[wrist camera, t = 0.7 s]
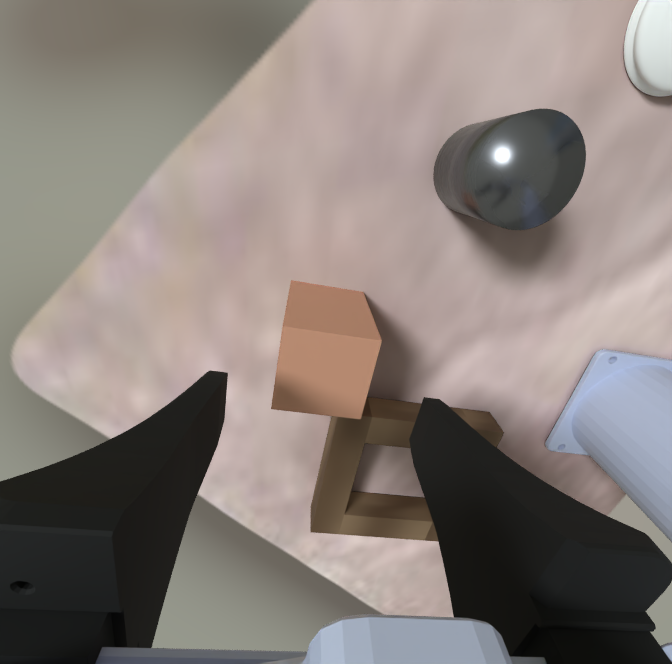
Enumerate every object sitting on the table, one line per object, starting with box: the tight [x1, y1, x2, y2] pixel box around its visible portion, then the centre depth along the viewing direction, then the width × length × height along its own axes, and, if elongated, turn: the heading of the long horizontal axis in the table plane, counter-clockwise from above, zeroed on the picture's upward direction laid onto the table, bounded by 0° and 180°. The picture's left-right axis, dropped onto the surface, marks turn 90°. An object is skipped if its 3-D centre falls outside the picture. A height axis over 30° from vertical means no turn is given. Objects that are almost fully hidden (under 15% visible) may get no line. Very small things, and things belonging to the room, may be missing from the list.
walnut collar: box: [311, 397, 504, 541], centre depth 24 cm, size 10×10×2 cm
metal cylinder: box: [433, 109, 586, 230], centre depth 15 cm, size 4×4×5 cm
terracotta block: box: [271, 280, 382, 419], centre depth 18 cm, size 4×4×6 cm
